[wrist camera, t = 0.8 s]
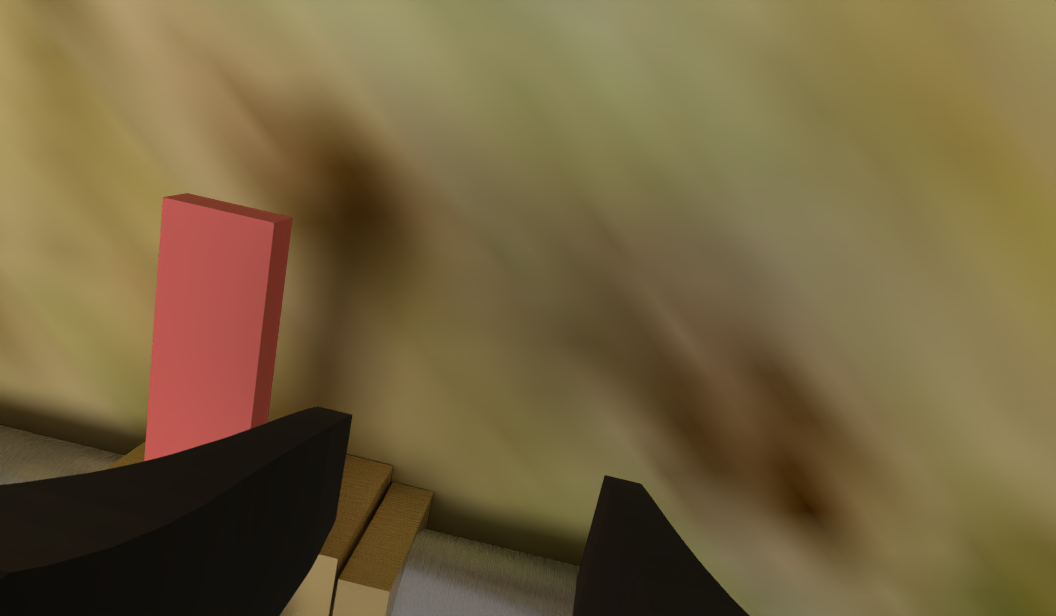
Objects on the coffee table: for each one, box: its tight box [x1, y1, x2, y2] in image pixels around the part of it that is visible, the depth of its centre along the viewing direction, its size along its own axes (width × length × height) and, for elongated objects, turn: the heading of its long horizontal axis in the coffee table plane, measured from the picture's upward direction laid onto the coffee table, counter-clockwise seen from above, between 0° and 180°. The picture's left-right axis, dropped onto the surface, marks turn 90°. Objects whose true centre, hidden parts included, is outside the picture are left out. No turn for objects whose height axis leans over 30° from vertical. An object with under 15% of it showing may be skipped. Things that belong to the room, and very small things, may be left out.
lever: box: [144, 193, 292, 461], centre depth 17 cm, size 14×4×1 cm, turn 168°
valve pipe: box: [0, 425, 580, 616], centre depth 22 cm, size 26×6×6 cm, turn 78°
